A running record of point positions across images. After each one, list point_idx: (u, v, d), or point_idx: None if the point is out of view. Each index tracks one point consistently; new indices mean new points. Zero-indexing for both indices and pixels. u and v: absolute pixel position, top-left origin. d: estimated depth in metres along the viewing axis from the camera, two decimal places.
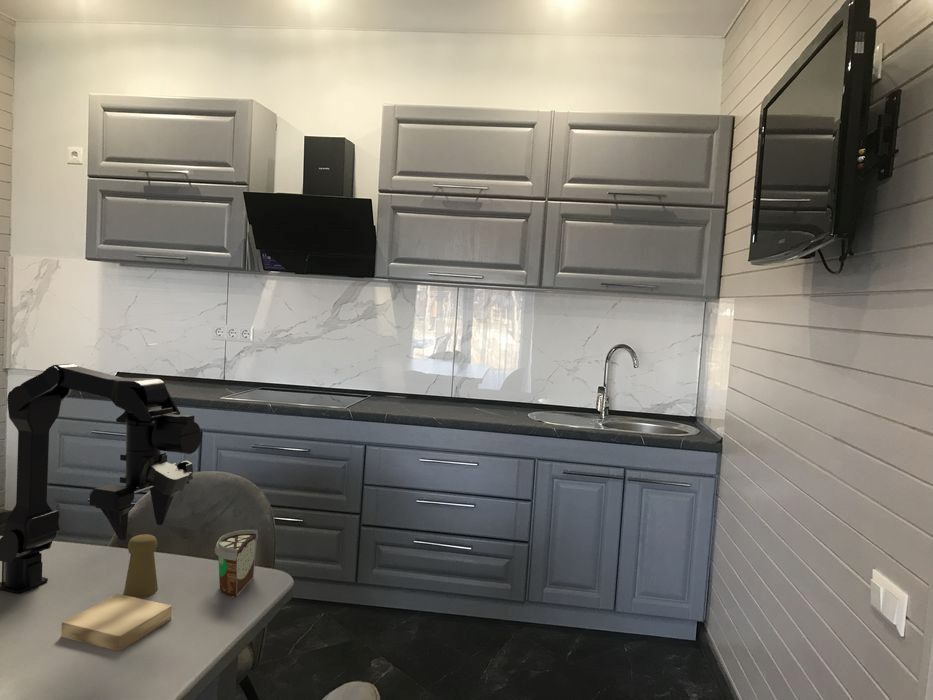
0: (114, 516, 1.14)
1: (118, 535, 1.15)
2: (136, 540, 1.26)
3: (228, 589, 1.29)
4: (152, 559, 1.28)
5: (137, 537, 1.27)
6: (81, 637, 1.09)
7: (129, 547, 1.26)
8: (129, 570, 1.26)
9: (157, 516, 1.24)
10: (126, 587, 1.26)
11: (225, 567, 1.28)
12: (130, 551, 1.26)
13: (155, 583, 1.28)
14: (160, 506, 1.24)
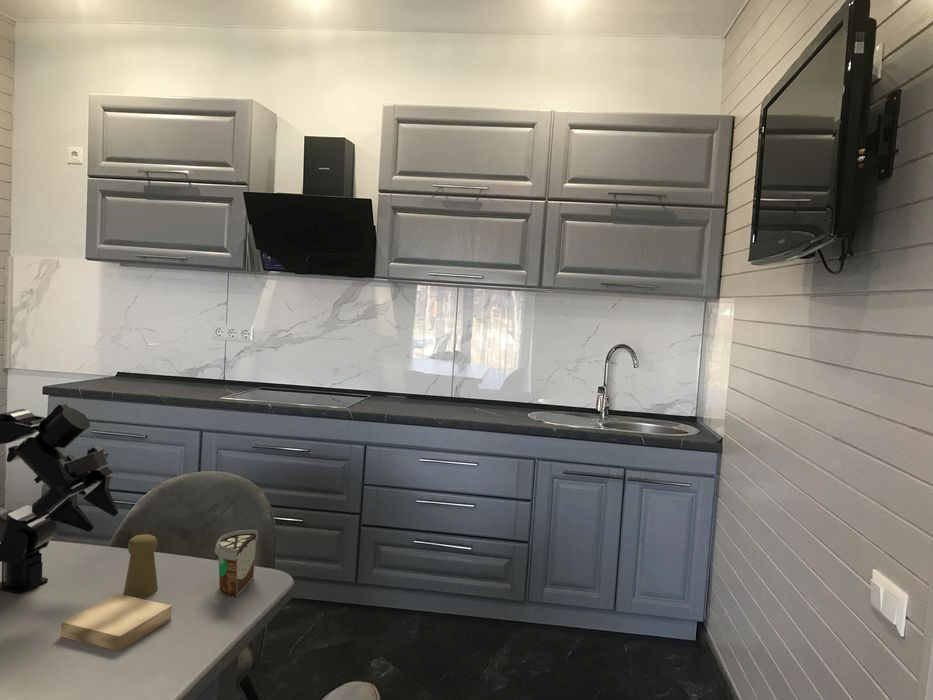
0: (68, 516, 1.21)
1: (85, 528, 1.22)
2: (136, 540, 1.26)
3: (228, 589, 1.29)
4: (152, 559, 1.28)
5: (137, 537, 1.27)
6: (81, 637, 1.09)
7: (129, 547, 1.26)
8: (129, 570, 1.26)
9: (109, 510, 1.32)
10: (126, 587, 1.26)
11: (225, 567, 1.28)
12: (130, 551, 1.26)
13: (155, 583, 1.28)
14: (104, 501, 1.32)
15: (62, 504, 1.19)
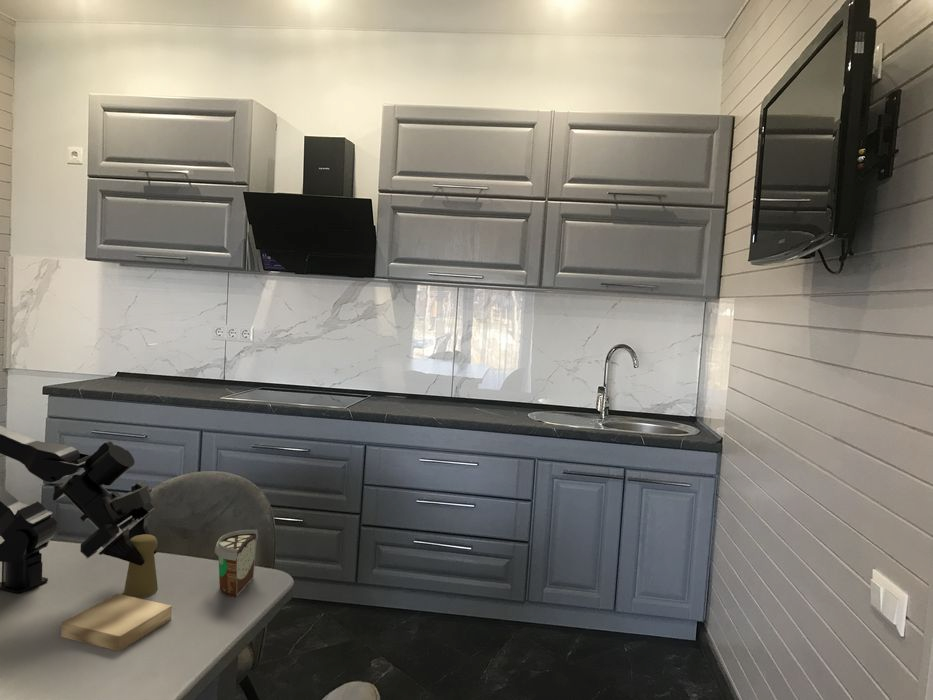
0: (121, 551, 1.24)
1: (137, 562, 1.25)
2: (136, 540, 1.26)
3: (228, 589, 1.29)
4: (152, 559, 1.28)
5: (137, 537, 1.27)
6: (81, 637, 1.09)
7: None
8: (129, 570, 1.26)
9: None
10: (126, 587, 1.26)
11: (225, 567, 1.28)
12: None
13: (155, 583, 1.28)
14: None
15: (115, 539, 1.21)
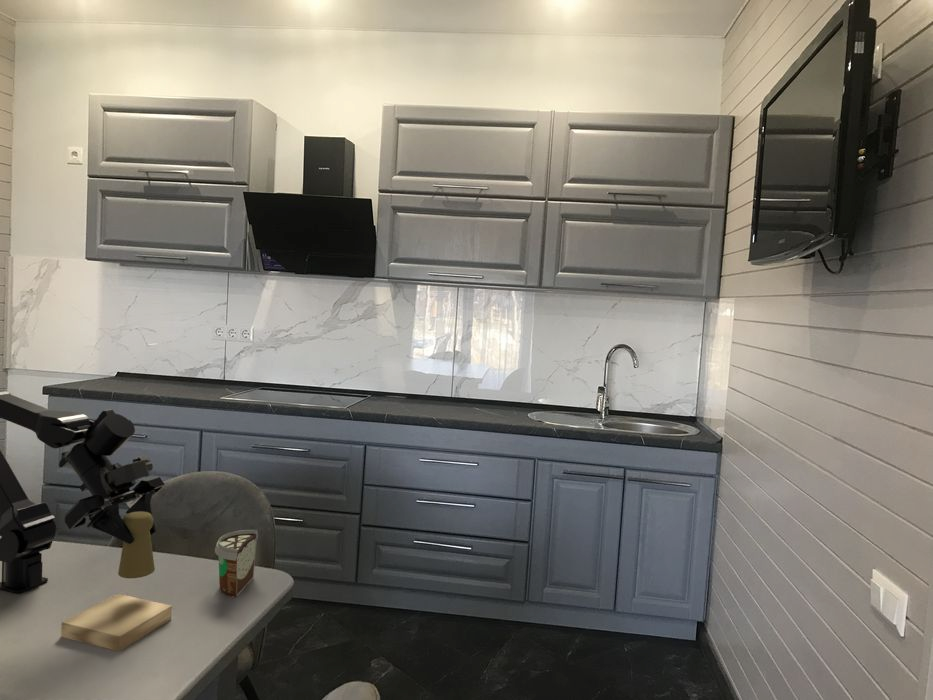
0: (110, 526, 1.16)
1: (125, 540, 1.17)
2: (128, 516, 1.18)
3: (228, 589, 1.29)
4: (145, 538, 1.19)
5: (131, 513, 1.19)
6: (81, 637, 1.09)
7: None
8: (122, 548, 1.19)
9: None
10: (119, 565, 1.19)
11: (225, 567, 1.28)
12: None
13: (149, 565, 1.19)
14: None
15: (100, 513, 1.14)
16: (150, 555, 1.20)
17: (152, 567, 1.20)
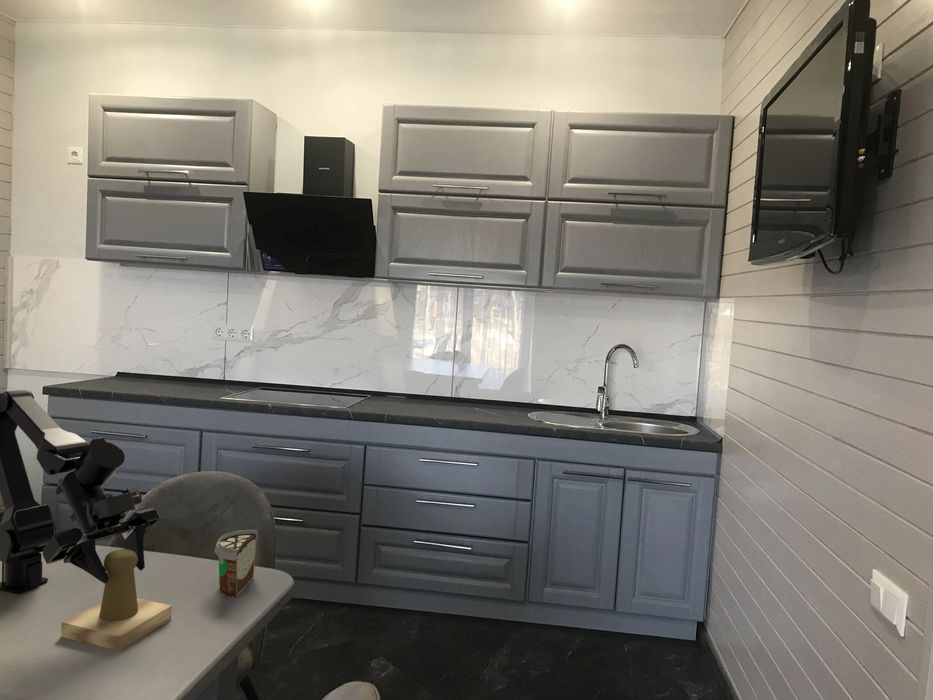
0: (86, 562, 1.10)
1: (100, 579, 1.10)
2: (109, 555, 1.12)
3: (228, 589, 1.29)
4: (126, 579, 1.12)
5: (115, 551, 1.13)
6: (81, 637, 1.09)
7: (104, 561, 1.13)
8: None
9: None
10: (101, 605, 1.13)
11: (225, 567, 1.28)
12: (104, 566, 1.12)
13: (129, 608, 1.13)
14: None
15: (74, 549, 1.08)
16: (131, 597, 1.13)
17: (133, 610, 1.14)
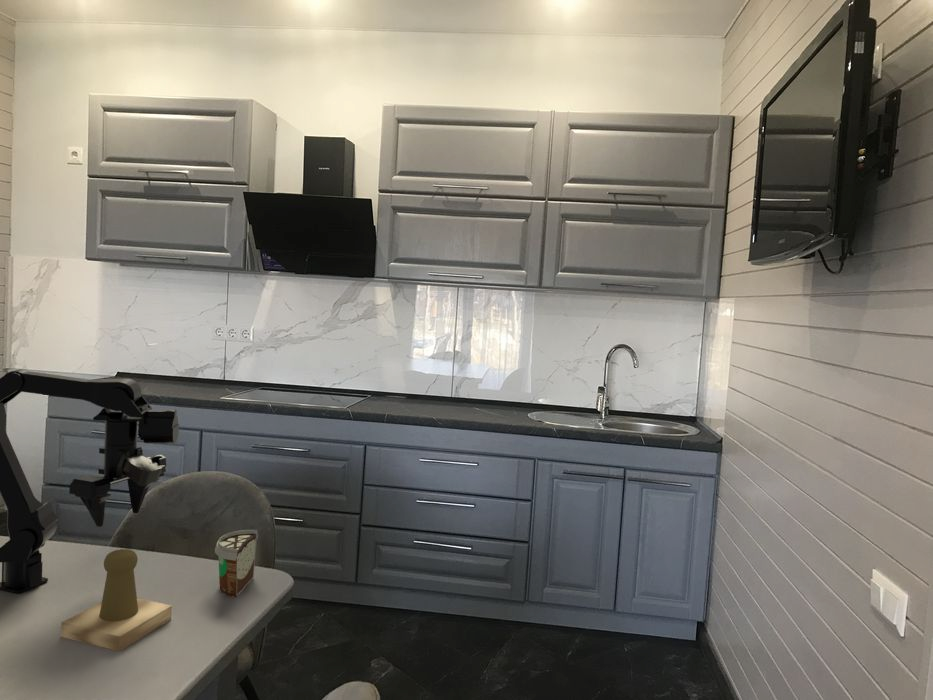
0: (92, 504, 1.25)
1: (95, 521, 1.26)
2: (109, 555, 1.12)
3: (228, 589, 1.29)
4: (126, 580, 1.12)
5: (115, 551, 1.13)
6: (81, 637, 1.09)
7: (104, 561, 1.13)
8: None
9: (133, 505, 1.35)
10: (101, 606, 1.13)
11: (225, 567, 1.28)
12: (104, 566, 1.12)
13: (129, 608, 1.13)
14: (136, 496, 1.35)
15: (92, 498, 1.22)
16: (131, 597, 1.13)
17: (133, 610, 1.14)
